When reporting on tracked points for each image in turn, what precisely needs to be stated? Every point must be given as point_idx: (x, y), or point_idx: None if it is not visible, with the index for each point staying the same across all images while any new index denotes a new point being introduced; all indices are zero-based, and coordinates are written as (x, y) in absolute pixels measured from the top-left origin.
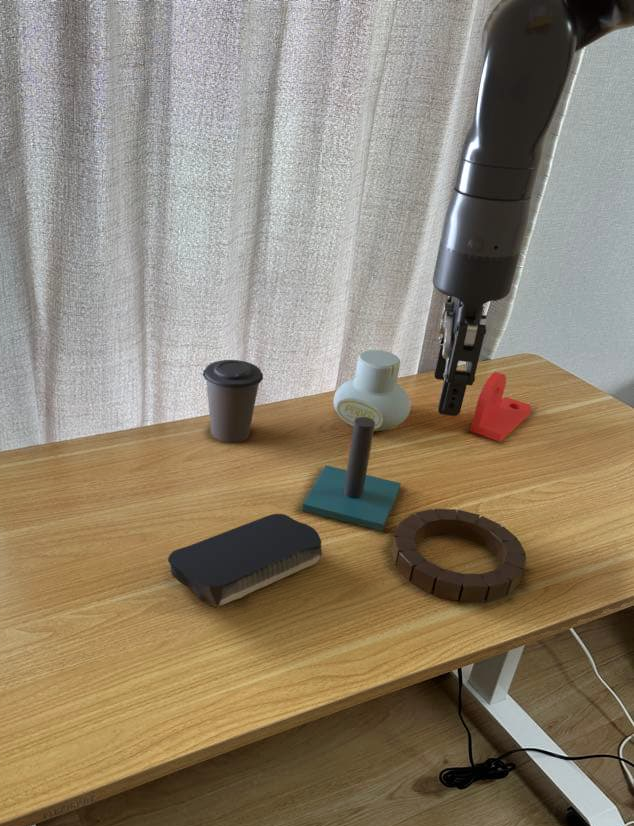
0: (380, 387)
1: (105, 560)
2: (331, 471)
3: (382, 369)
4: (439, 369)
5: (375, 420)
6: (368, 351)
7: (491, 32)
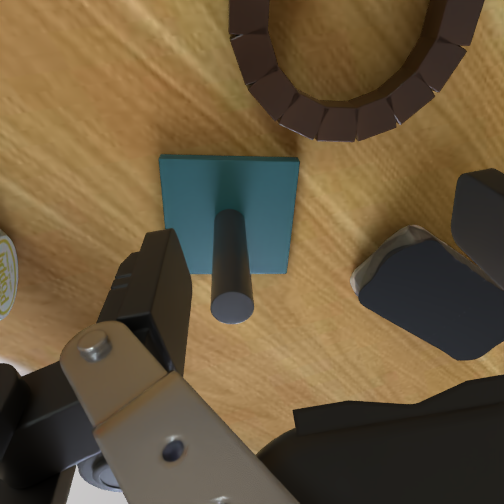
0: None
1: (427, 383)
2: None
3: None
4: (186, 298)
5: (1, 249)
6: None
7: None
